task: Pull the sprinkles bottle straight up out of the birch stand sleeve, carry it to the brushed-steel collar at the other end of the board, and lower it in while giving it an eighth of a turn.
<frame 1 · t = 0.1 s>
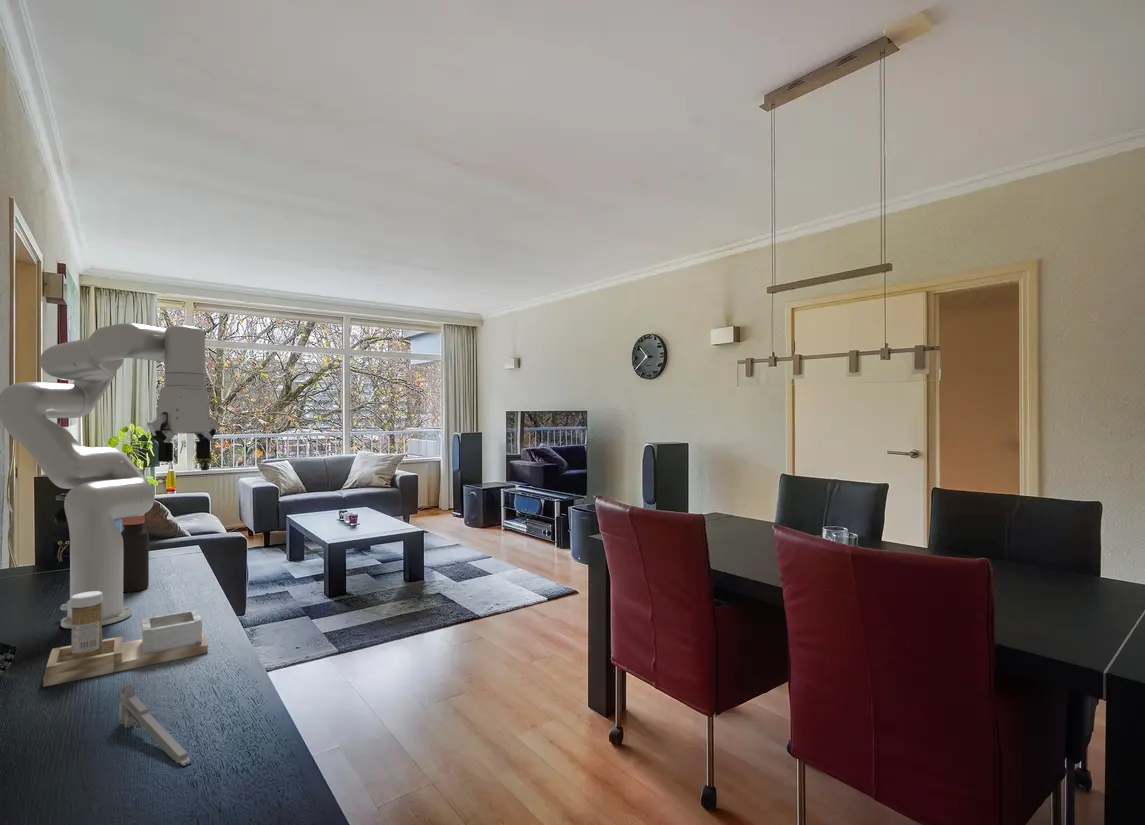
hand: (185, 460, 130), 37 cm above the table, tool pointing down, fingers open, 9 cm apart
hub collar: (171, 650, 117), resting on stand board
sprinkles bottle: (86, 668, 109), resting in stand board
vinegar: (133, 590, 160), on the table
stand board: (130, 658, 113), on the table
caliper: (153, 746, 83), on the table
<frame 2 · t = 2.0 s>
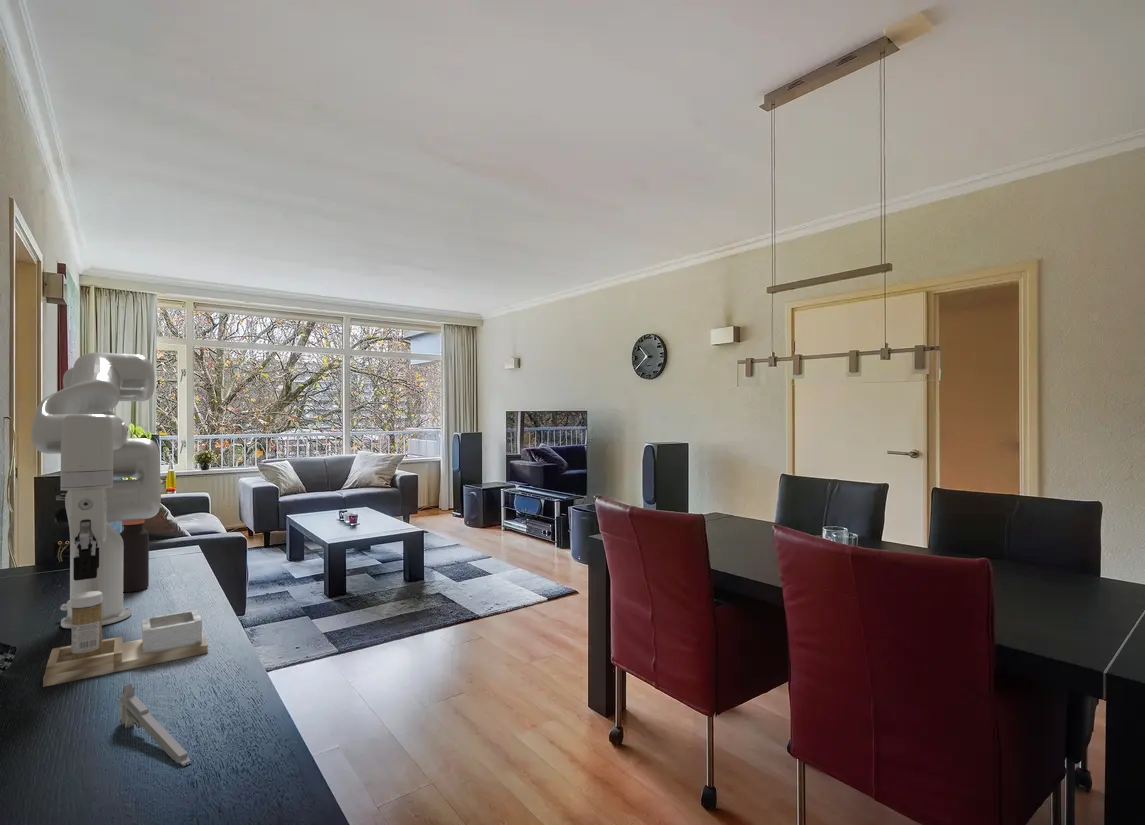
hand: (86, 574, 109), 17 cm above the table, tool pointing down, fingers open, 9 cm apart
nothing on the table moved.
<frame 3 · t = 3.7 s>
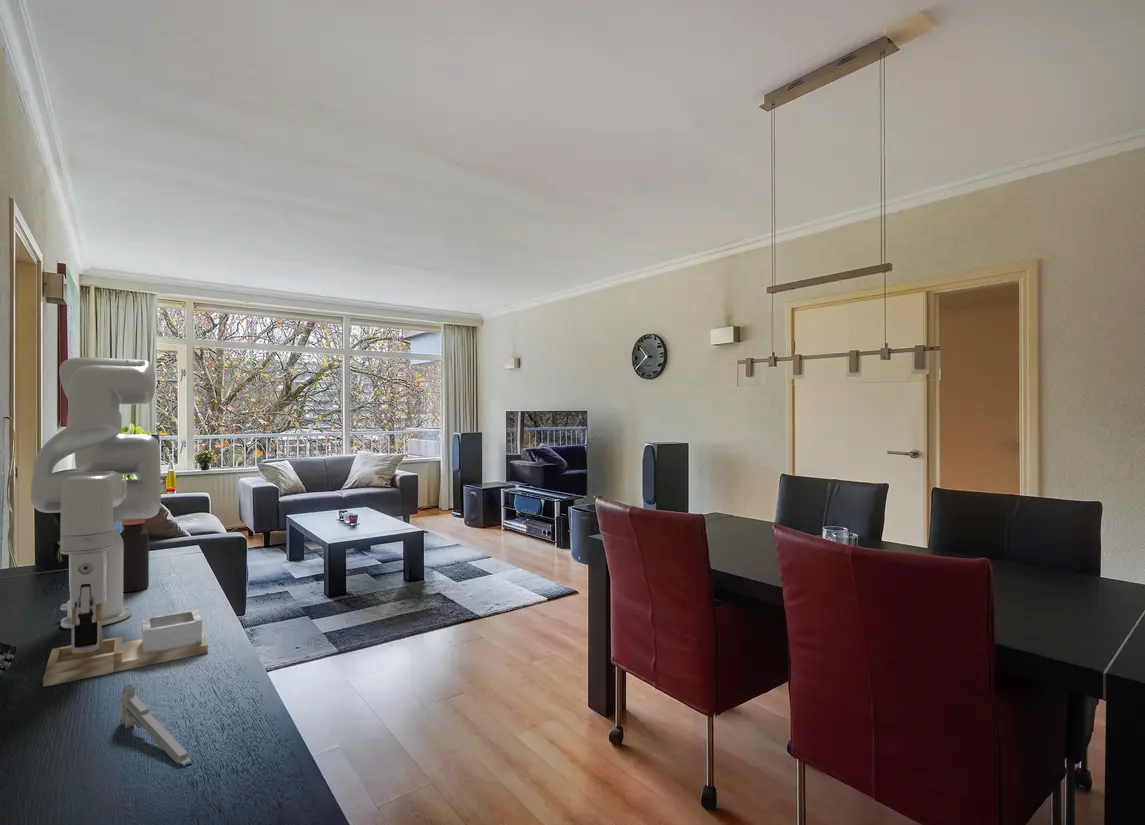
hand: (86, 640, 109), 5 cm above the table, tool pointing down, fingers closed on sprinkles bottle, 4 cm apart
sprinkles bottle: (86, 668, 109), resting in stand board, touching gripper
everything else where it was.
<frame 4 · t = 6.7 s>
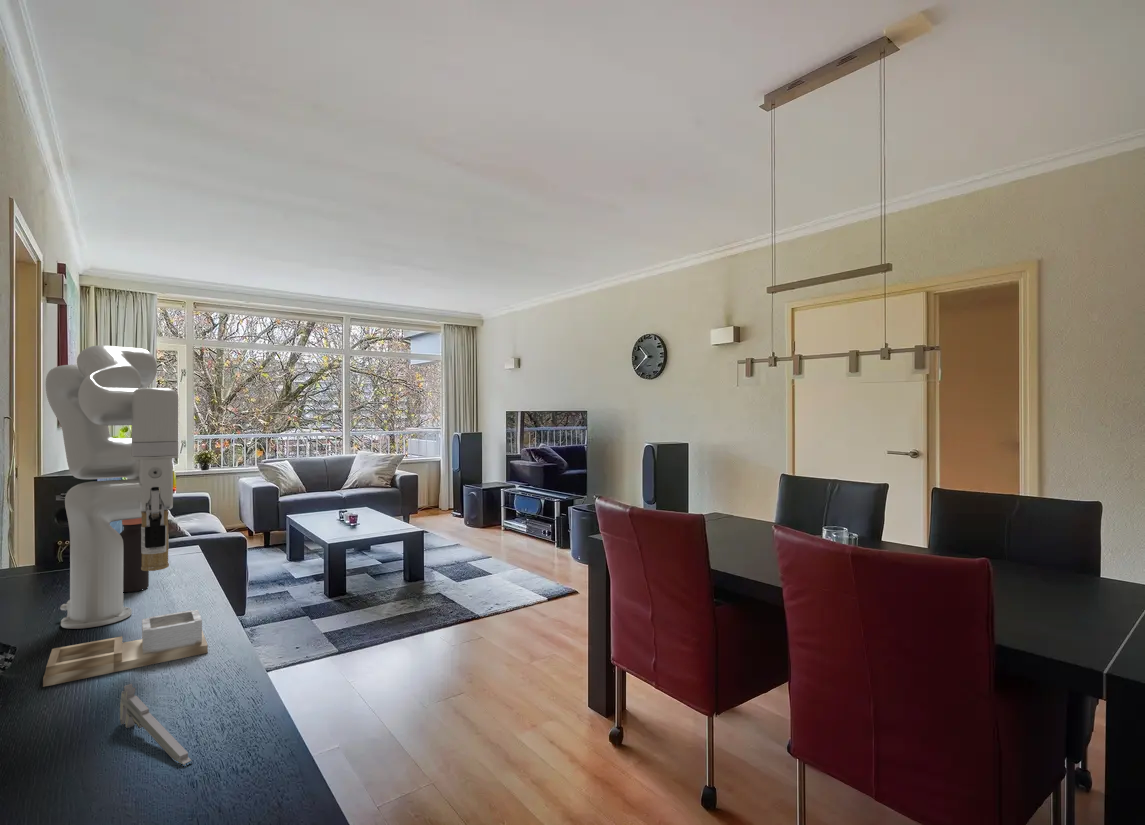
hand: (155, 543, 115), 21 cm above the table, tool pointing down, fingers closed on sprinkles bottle, 4 cm apart
sprinkles bottle: (154, 569, 115), point 16 cm above the table, touching gripper
everything else where it was.
when the fingers open (7 cm above the table, at t = 9.7 s): sprinkles bottle stays where it is, resting on stand board.
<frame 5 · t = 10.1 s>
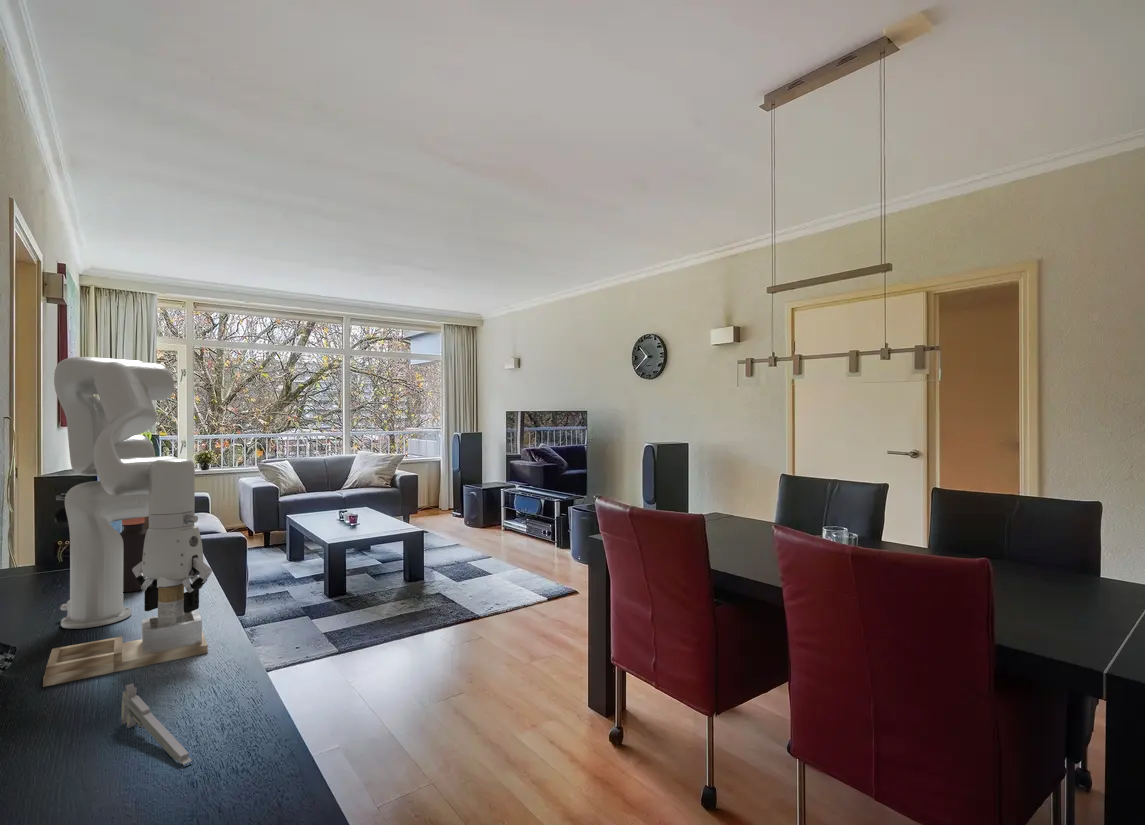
hand: (171, 609, 117), 8 cm above the table, tool pointing down, fingers open, 8 cm apart
sprinkles bottle: (171, 643, 117), point 1 cm above the table, touching stand board
everything else where it was.
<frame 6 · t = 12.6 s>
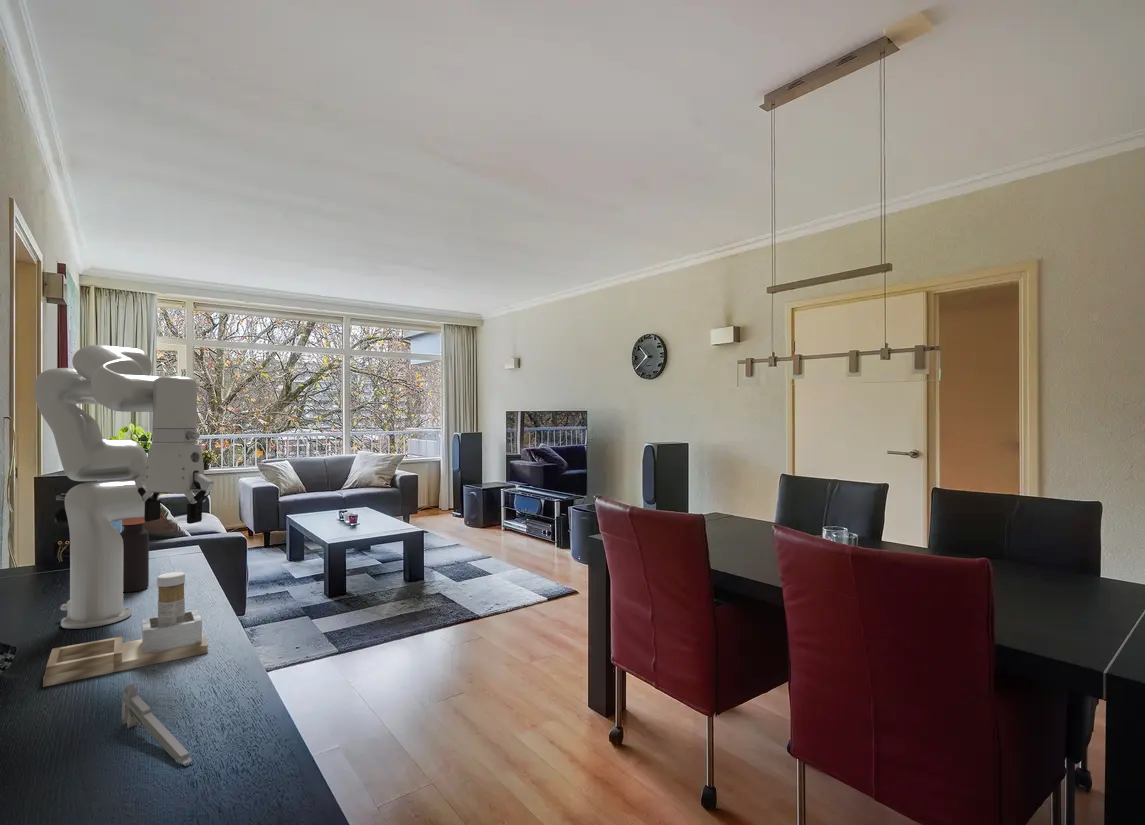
hand: (173, 521, 120), 25 cm above the table, tool pointing down, fingers open, 9 cm apart
nothing on the table moved.
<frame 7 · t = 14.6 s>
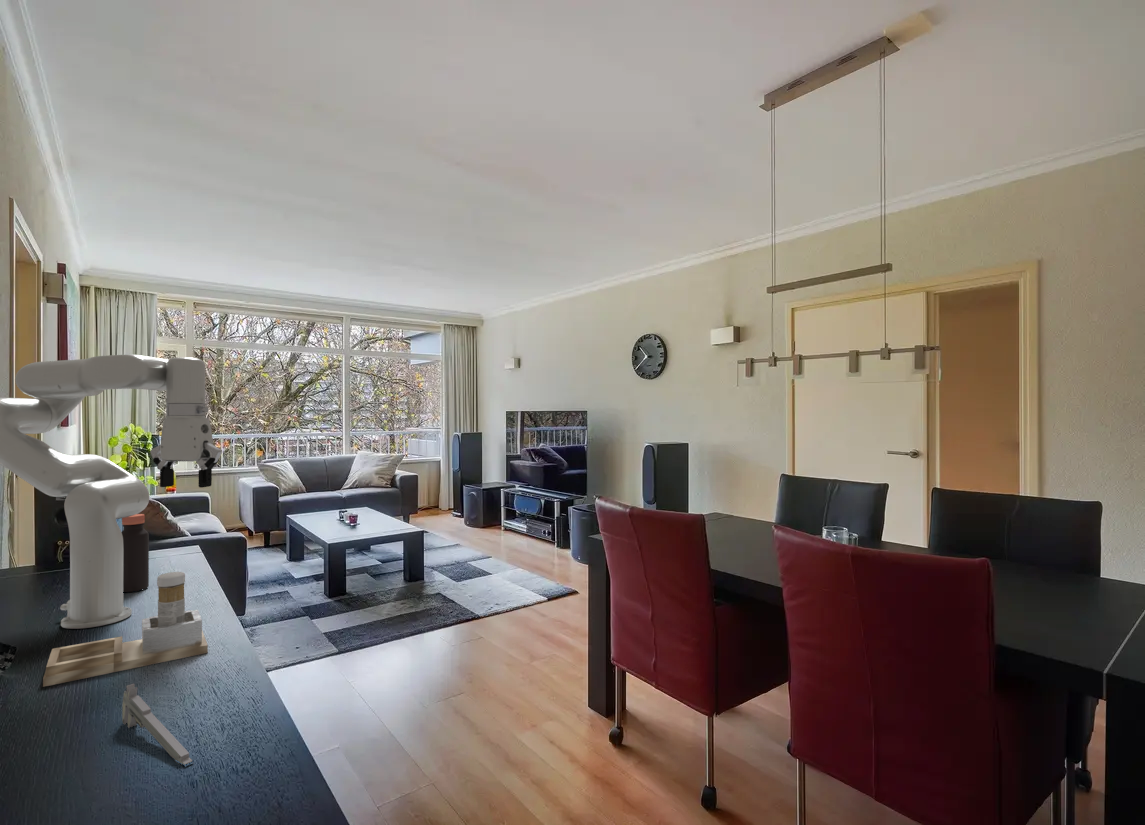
hand: (185, 486, 135), 30 cm above the table, tool pointing down, fingers open, 9 cm apart
nothing on the table moved.
at the end: sprinkles bottle 0.2 cm off-centre on the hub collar, point 1.3 cm above the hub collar's base; sprinkles bottle tilted 0°; the gripper is holding nothing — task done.
